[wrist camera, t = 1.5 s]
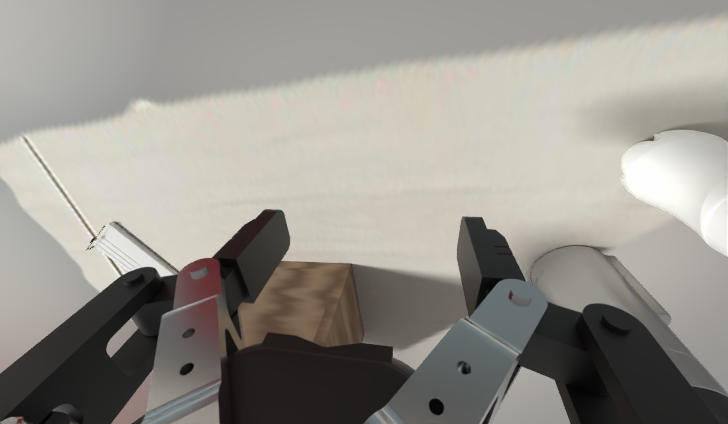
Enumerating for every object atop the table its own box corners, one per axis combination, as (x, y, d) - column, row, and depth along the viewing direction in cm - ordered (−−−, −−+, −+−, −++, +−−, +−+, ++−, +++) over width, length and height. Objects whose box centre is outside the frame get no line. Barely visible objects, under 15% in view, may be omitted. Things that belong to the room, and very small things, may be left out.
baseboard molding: (214, 333, 64) (242, 319, 59) (206, 344, 62) (235, 331, 57) (96, 245, 55) (116, 219, 50) (80, 254, 52) (100, 227, 47)
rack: (351, 263, 44) (236, 608, 17) (363, 333, 52) (302, 632, 25) (263, 260, 47) (50, 541, 20) (289, 326, 56) (166, 583, 29)
